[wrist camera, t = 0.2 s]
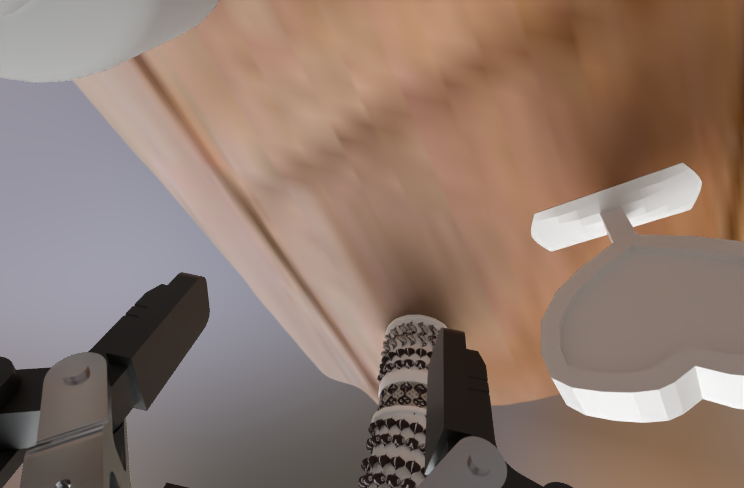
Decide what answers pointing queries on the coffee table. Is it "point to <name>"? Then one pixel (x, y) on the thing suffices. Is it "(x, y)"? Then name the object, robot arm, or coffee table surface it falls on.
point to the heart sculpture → (643, 306)
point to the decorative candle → (401, 405)
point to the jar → (87, 34)
